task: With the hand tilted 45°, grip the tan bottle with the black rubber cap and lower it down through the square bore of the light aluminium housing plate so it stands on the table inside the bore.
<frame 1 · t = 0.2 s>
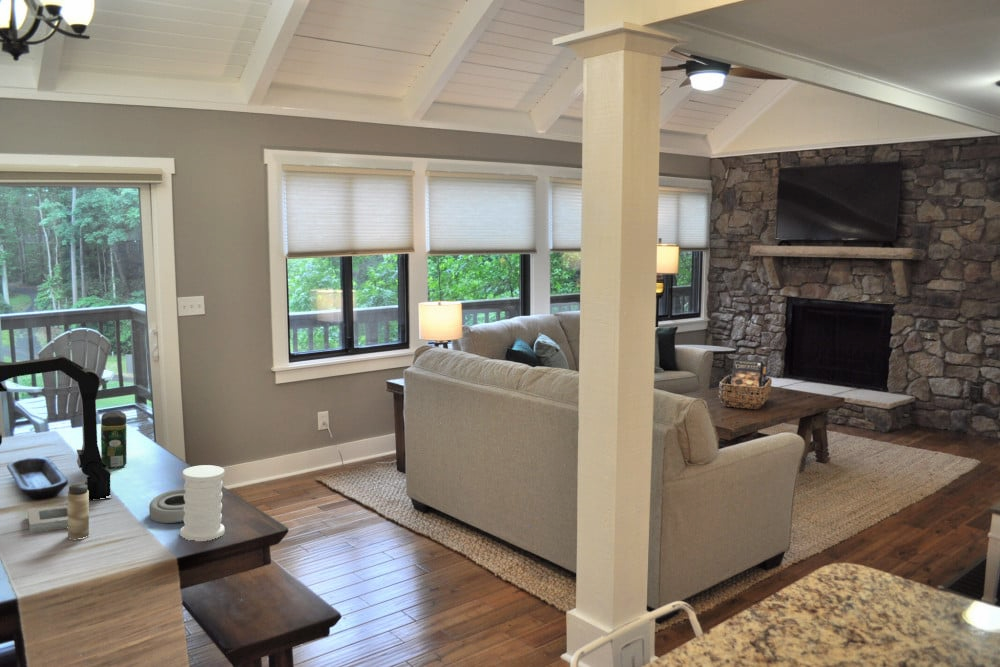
turbocharger housing: (179, 515, 235), on the table
tan bottle: (78, 536, 215), on the table
decorative container: (202, 533, 223), on the table
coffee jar: (113, 465, 274), on the table
housing plate: (53, 522, 223), on the table
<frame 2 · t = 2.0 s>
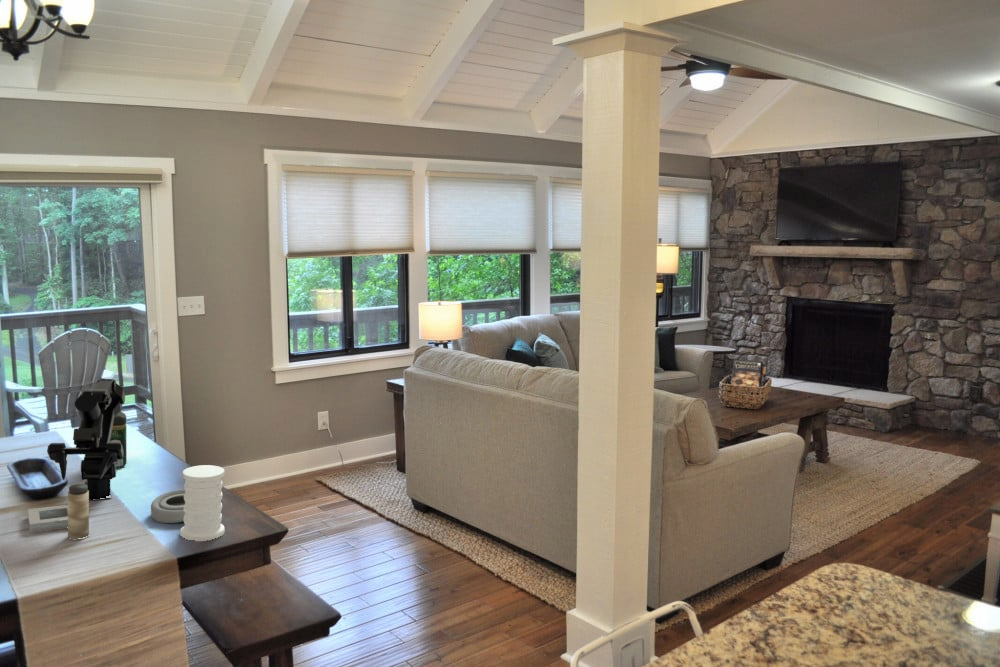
hand: (81, 478, 220), 13 cm above the table, tool tilted 45°, fingers open, 9 cm apart
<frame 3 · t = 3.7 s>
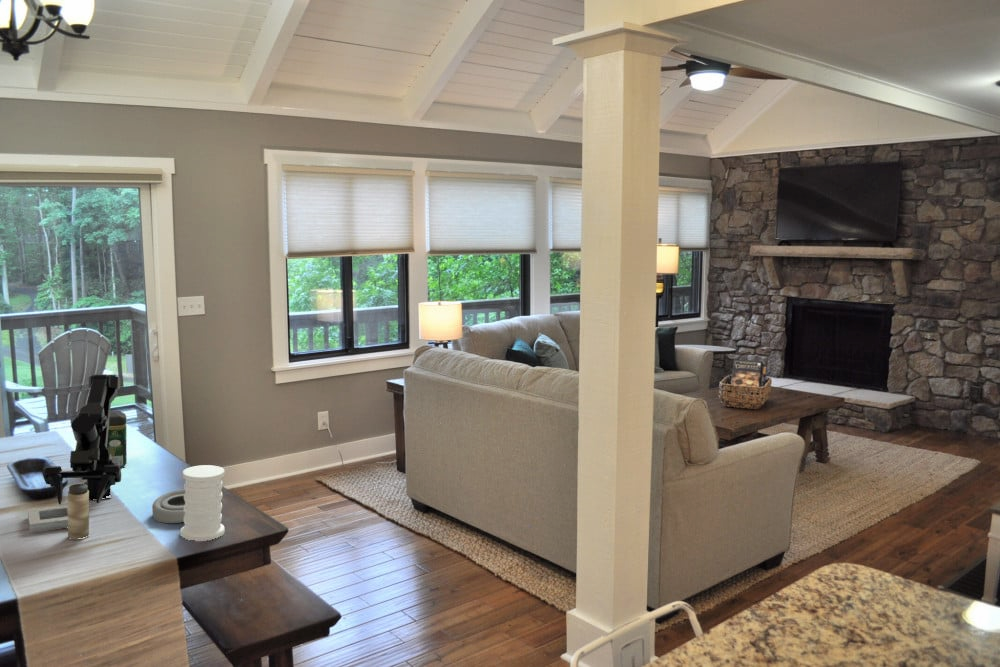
hand: (78, 503, 214), 9 cm above the table, tool tilted 45°, fingers open, 9 cm apart
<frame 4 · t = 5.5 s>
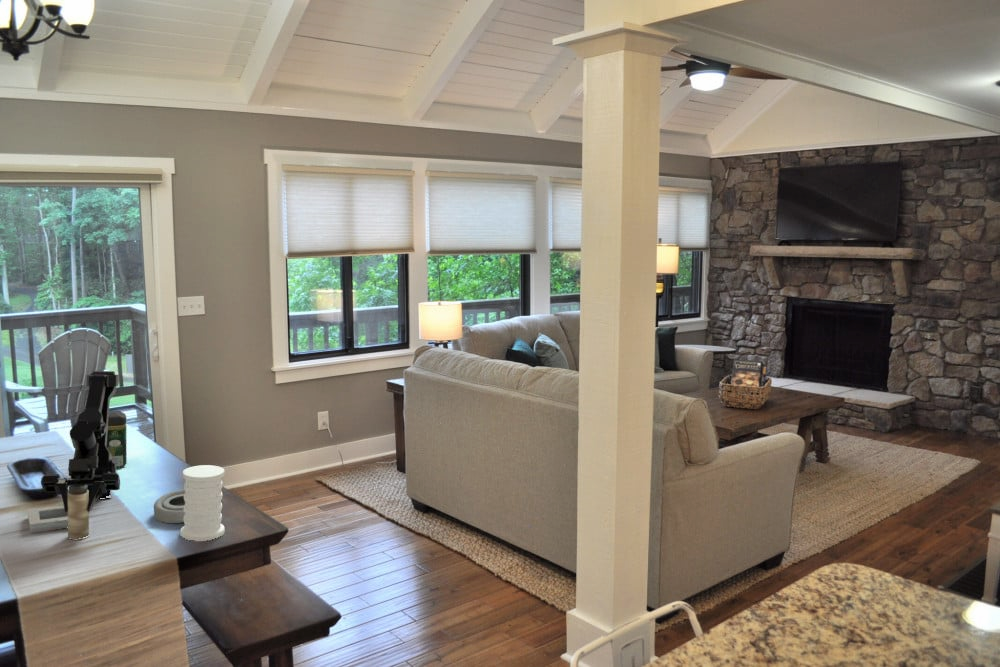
hand: (77, 511, 212), 8 cm above the table, tool tilted 45°, fingers closed on tan bottle, 5 cm apart
tan bottle: (78, 536, 215), on the table, touching gripper
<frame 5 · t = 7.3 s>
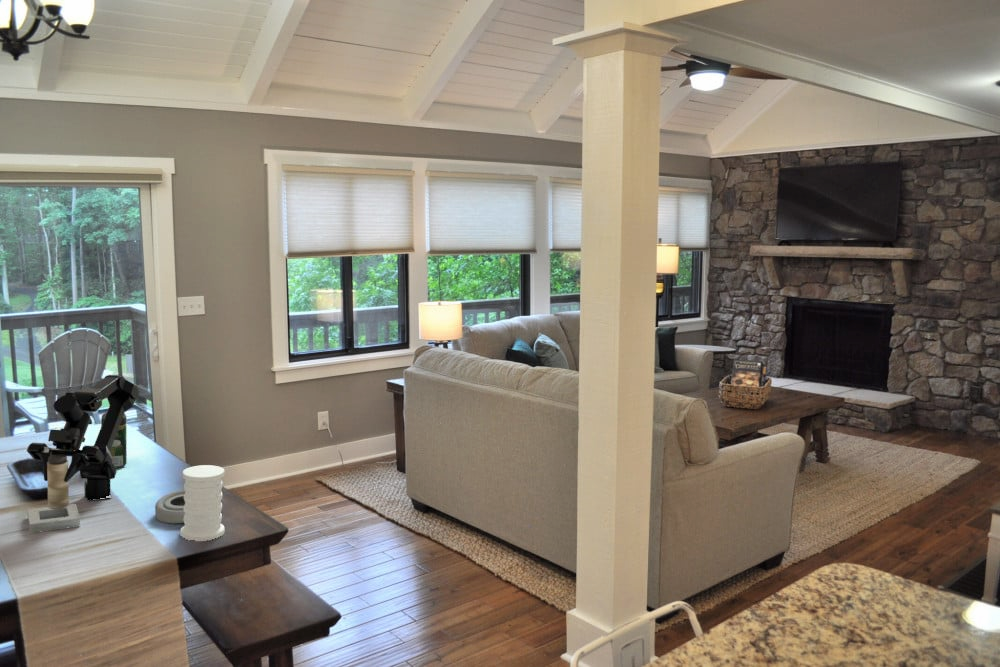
hand: (55, 481, 217), 14 cm above the table, tool tilted 45°, fingers closed on tan bottle, 5 cm apart
tan bottle: (58, 505, 220), point 6 cm above the table, touching gripper
when the fingers open (8 cm above the table, at t = 9.6 s): tan bottle stays where it is, resting in housing plate.
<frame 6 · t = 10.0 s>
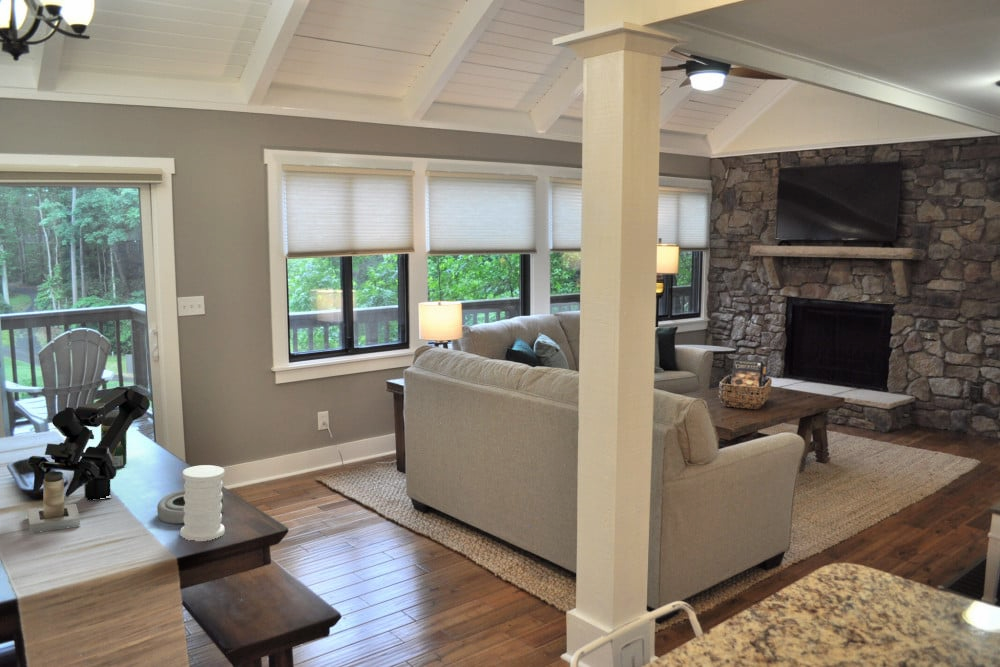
hand: (50, 494, 220), 9 cm above the table, tool tilted 45°, fingers open, 9 cm apart
tan bottle: (53, 522, 223), resting in housing plate
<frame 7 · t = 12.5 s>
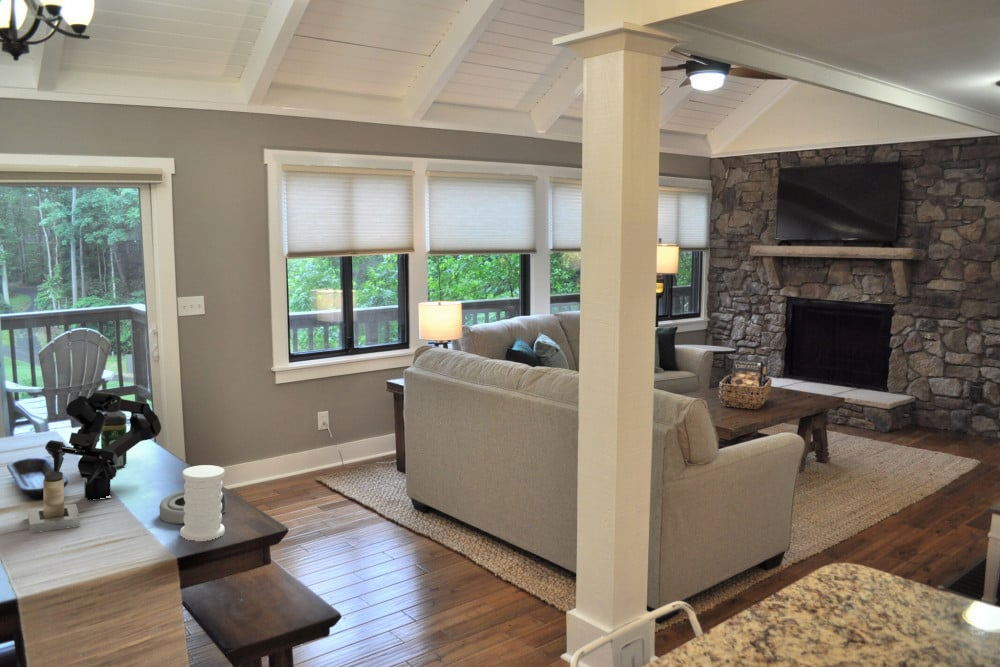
hand: (71, 480, 229), 10 cm above the table, tool tilted 40°, fingers open, 9 cm apart
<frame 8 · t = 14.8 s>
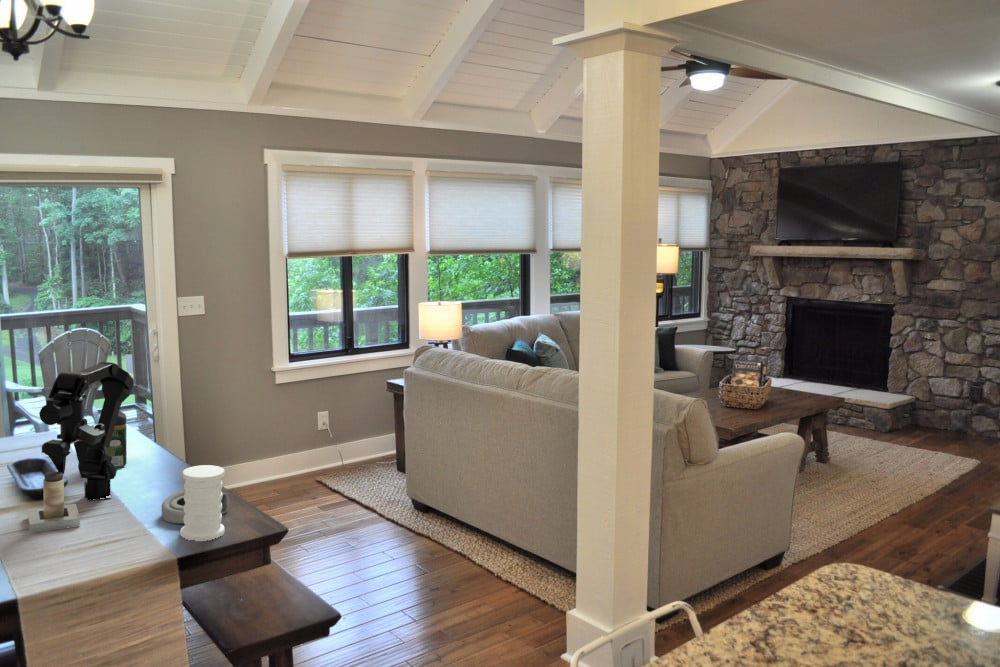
hand: (71, 469, 229), 13 cm above the table, tool pointing down, fingers open, 9 cm apart
at the end: tan bottle 0.0 cm off-centre on the housing plate, point 0.0 cm above the housing plate's base; tan bottle tilted 0°; the gripper is holding nothing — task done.
